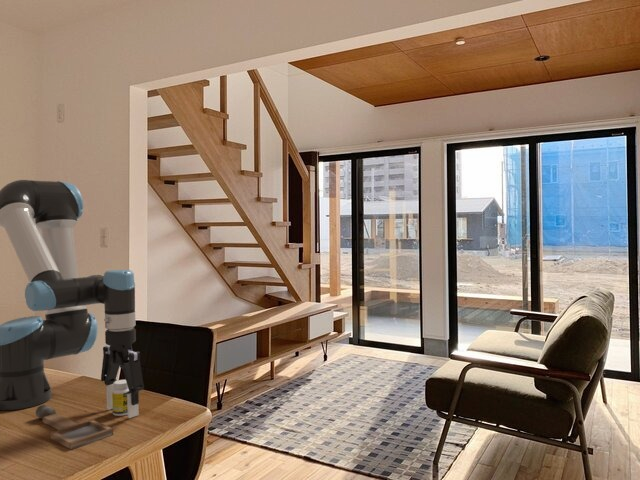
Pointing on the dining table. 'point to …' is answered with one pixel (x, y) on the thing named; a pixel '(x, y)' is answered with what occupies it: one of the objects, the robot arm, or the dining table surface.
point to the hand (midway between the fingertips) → (122, 412)
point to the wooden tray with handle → (72, 429)
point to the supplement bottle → (120, 398)
